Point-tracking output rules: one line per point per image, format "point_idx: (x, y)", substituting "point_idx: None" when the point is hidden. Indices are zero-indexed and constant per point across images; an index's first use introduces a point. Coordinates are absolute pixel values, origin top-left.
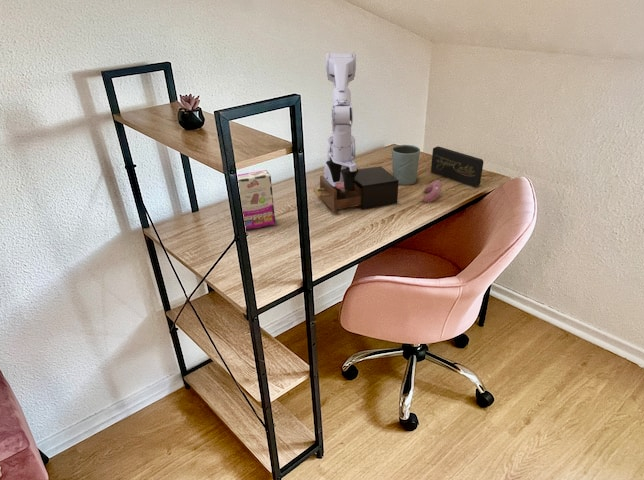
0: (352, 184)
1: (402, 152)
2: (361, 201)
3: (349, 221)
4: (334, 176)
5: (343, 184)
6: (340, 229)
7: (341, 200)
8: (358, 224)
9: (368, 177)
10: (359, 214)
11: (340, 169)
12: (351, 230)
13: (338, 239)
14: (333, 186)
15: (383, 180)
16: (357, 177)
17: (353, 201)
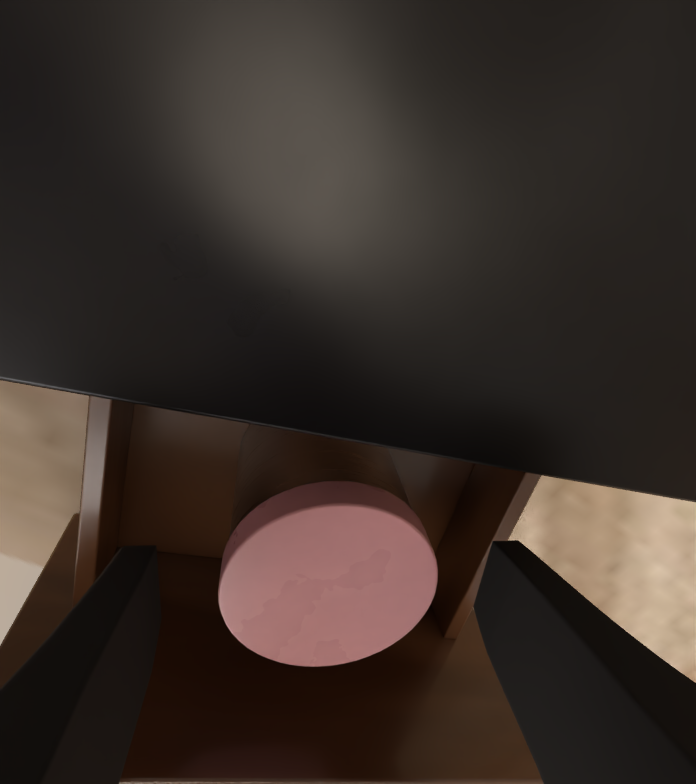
0: (571, 586)
1: None
2: None
3: (598, 536)
4: (129, 709)
5: (349, 581)
6: (623, 620)
7: (477, 590)
8: (677, 510)
9: (641, 150)
10: None
11: (64, 751)
12: (686, 579)
13: (685, 666)
14: (84, 508)
15: None
16: (438, 387)
17: None
